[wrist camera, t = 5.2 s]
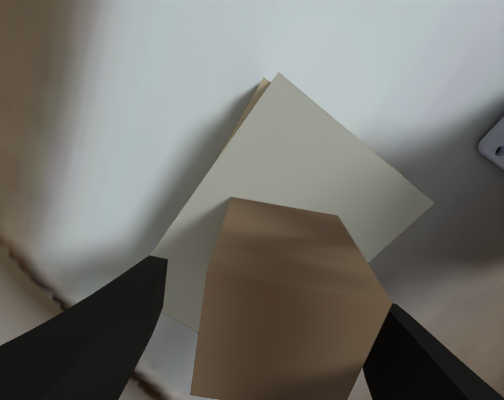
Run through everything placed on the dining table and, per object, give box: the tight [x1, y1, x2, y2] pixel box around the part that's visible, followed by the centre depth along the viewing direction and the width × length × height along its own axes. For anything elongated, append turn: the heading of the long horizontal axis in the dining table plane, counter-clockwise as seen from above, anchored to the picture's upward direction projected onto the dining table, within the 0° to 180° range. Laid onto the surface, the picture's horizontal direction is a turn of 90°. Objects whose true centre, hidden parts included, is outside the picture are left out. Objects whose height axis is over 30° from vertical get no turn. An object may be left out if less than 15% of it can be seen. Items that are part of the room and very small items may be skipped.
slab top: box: [150, 72, 434, 333], centre depth 13 cm, size 8×12×2 cm, turn 143°
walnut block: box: [190, 197, 393, 400], centre depth 9 cm, size 4×4×5 cm
